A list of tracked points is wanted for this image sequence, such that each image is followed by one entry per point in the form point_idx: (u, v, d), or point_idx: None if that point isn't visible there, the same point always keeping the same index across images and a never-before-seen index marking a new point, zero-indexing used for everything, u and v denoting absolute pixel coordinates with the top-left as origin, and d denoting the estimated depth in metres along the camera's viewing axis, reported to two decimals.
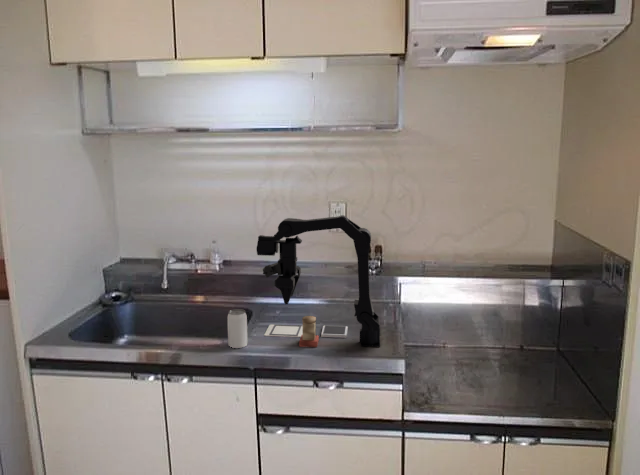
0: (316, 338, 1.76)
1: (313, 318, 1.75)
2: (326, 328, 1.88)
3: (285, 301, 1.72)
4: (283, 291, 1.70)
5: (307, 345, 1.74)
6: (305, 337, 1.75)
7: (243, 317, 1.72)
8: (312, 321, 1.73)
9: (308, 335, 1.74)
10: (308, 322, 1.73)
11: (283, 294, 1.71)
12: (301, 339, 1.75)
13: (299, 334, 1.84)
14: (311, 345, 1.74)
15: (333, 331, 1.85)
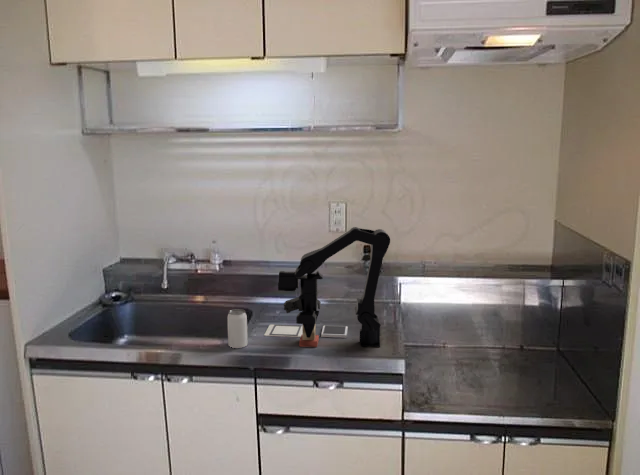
0: (316, 338, 1.76)
1: None
2: (326, 328, 1.88)
3: (307, 334, 1.74)
4: (305, 325, 1.72)
5: (307, 345, 1.74)
6: (305, 337, 1.75)
7: (243, 317, 1.72)
8: None
9: None
10: None
11: (305, 328, 1.72)
12: (301, 339, 1.75)
13: (299, 334, 1.84)
14: (311, 345, 1.74)
15: (333, 331, 1.85)
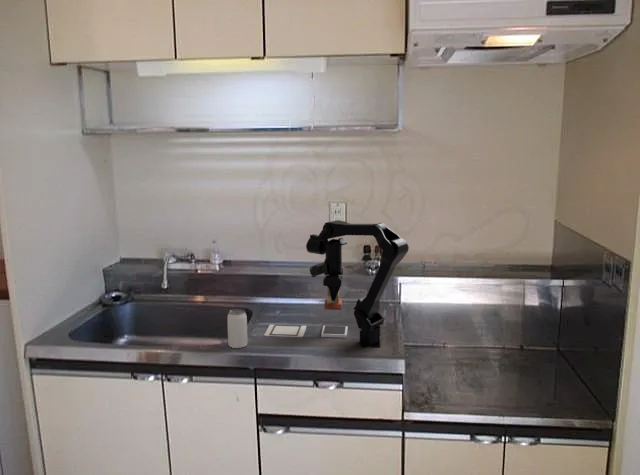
0: (340, 301, 1.84)
1: None
2: (326, 328, 1.88)
3: (332, 298, 1.81)
4: (331, 288, 1.80)
5: (332, 308, 1.82)
6: (330, 301, 1.82)
7: (243, 317, 1.72)
8: None
9: None
10: None
11: (331, 291, 1.80)
12: (326, 302, 1.83)
13: (299, 334, 1.84)
14: (336, 308, 1.81)
15: (333, 331, 1.85)
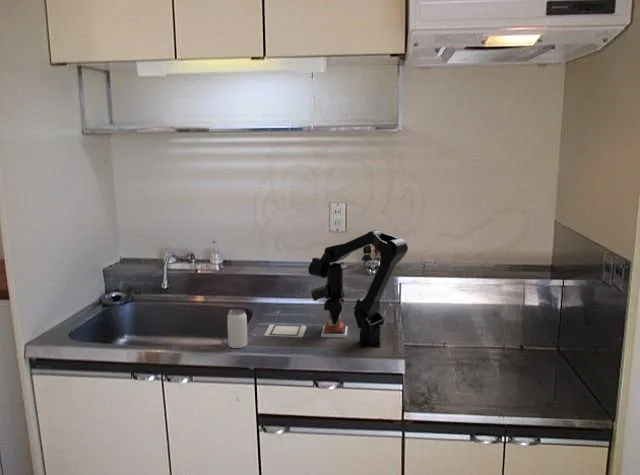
0: (341, 324, 1.86)
1: None
2: None
3: (333, 321, 1.83)
4: (332, 312, 1.82)
5: (333, 331, 1.84)
6: (331, 324, 1.84)
7: (243, 317, 1.72)
8: None
9: None
10: None
11: (332, 314, 1.82)
12: (327, 325, 1.85)
13: (299, 334, 1.84)
14: (337, 331, 1.83)
15: None
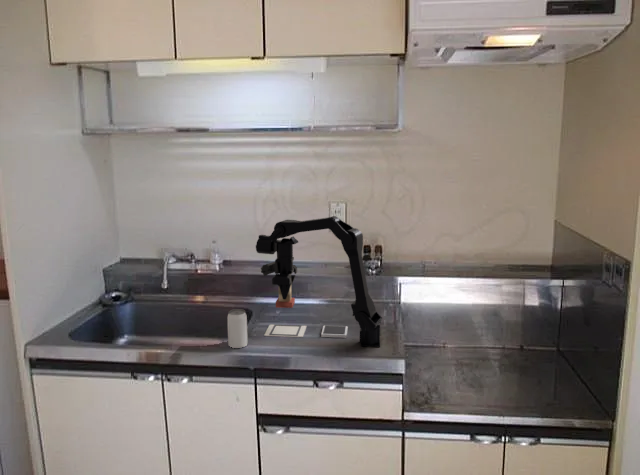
0: (292, 300, 1.86)
1: None
2: (326, 328, 1.88)
3: (283, 296, 1.84)
4: (281, 287, 1.82)
5: (283, 306, 1.84)
6: (281, 299, 1.85)
7: (243, 317, 1.72)
8: None
9: None
10: None
11: (281, 290, 1.82)
12: (277, 300, 1.85)
13: (299, 334, 1.84)
14: (287, 306, 1.84)
15: (333, 331, 1.85)
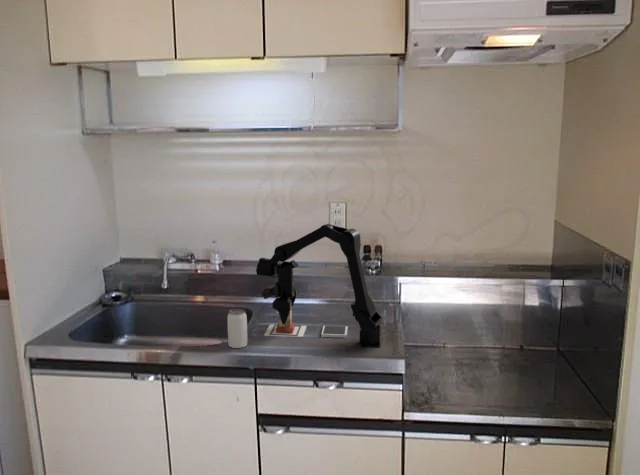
0: (292, 325, 1.88)
1: None
2: (326, 328, 1.88)
3: (282, 321, 1.83)
4: (280, 312, 1.81)
5: (283, 331, 1.86)
6: (281, 324, 1.86)
7: (243, 317, 1.72)
8: None
9: None
10: None
11: (280, 315, 1.82)
12: (278, 326, 1.87)
13: (299, 334, 1.84)
14: (287, 331, 1.85)
15: (333, 331, 1.85)
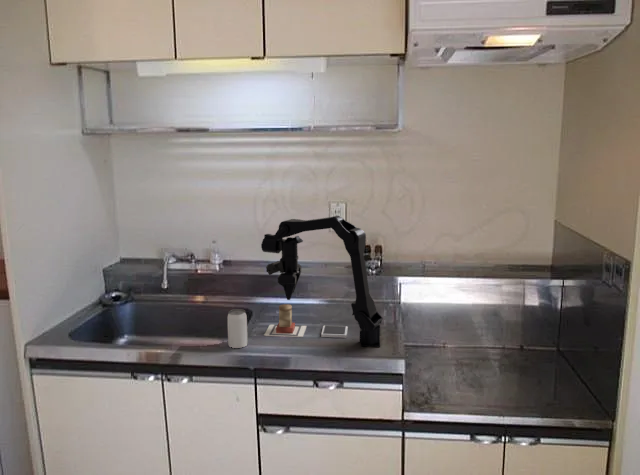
0: (292, 325, 1.88)
1: (289, 306, 1.87)
2: (326, 328, 1.88)
3: (287, 297, 1.83)
4: (285, 287, 1.81)
5: (283, 331, 1.86)
6: (281, 324, 1.86)
7: (243, 317, 1.72)
8: (288, 309, 1.85)
9: (284, 322, 1.86)
10: (285, 310, 1.85)
11: (285, 290, 1.82)
12: (278, 326, 1.87)
13: (299, 334, 1.84)
14: (287, 331, 1.85)
15: (333, 331, 1.85)
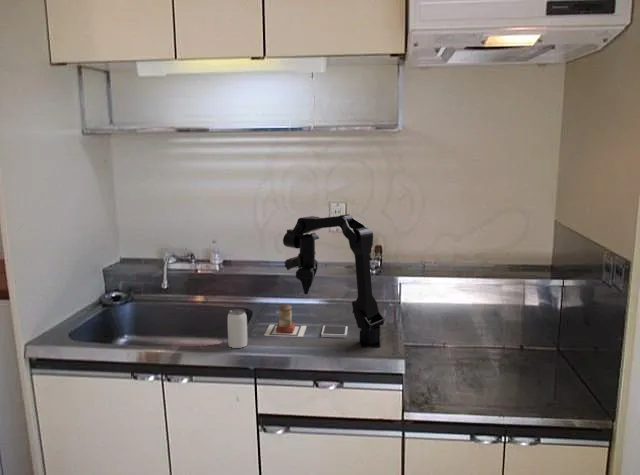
0: (292, 325, 1.88)
1: (289, 306, 1.87)
2: (326, 328, 1.88)
3: (305, 291, 1.89)
4: (303, 282, 1.88)
5: (283, 331, 1.86)
6: (281, 324, 1.86)
7: (243, 317, 1.72)
8: (288, 309, 1.85)
9: (284, 322, 1.86)
10: (285, 310, 1.85)
11: (303, 285, 1.88)
12: (278, 326, 1.87)
13: (299, 334, 1.84)
14: (287, 331, 1.85)
15: (333, 331, 1.85)
